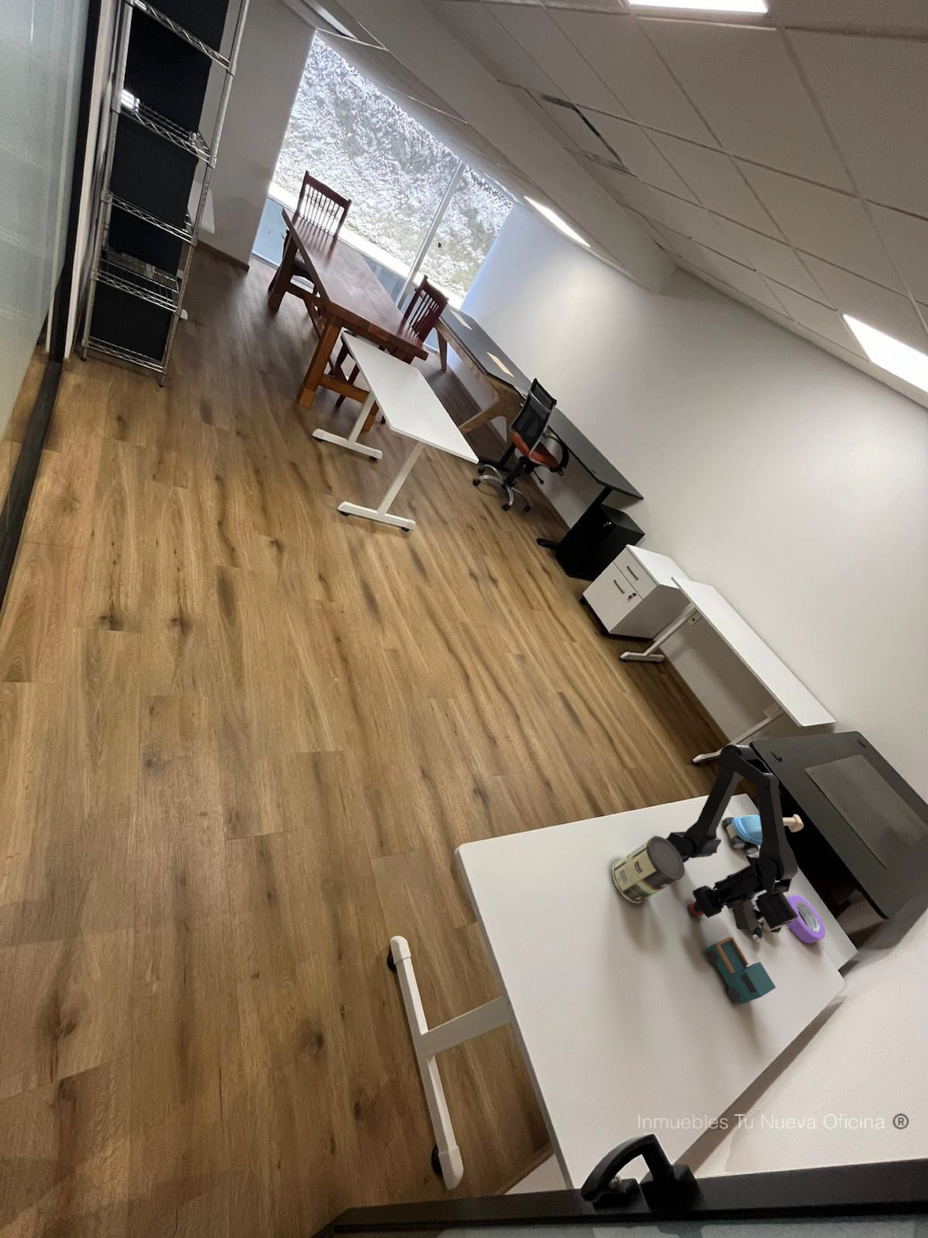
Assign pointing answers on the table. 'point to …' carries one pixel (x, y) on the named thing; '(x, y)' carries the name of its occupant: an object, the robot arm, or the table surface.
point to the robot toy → (762, 923)
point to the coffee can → (648, 870)
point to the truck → (739, 972)
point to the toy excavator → (753, 831)
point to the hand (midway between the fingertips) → (698, 908)
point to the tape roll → (811, 917)
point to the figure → (692, 911)
